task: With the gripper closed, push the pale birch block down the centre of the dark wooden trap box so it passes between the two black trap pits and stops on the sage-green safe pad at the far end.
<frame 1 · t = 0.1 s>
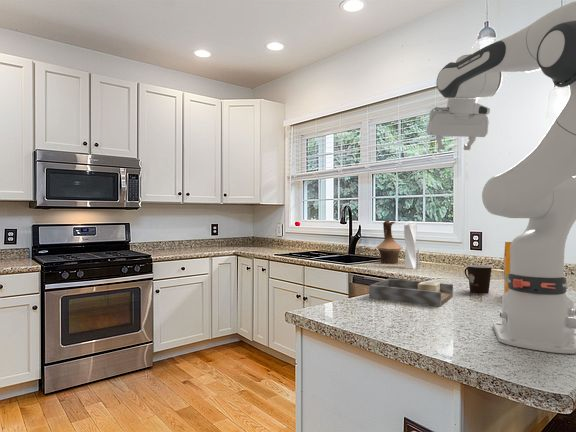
hand: (453, 149, 131), 52 cm above the countertop, tool tilted 20°, fingers open, 8 cm apart
coffee mug: (478, 291, 149), on the countertop
birch block: (428, 295, 134), point 1 cm above the countertop, touching trap box
skyscraper: (411, 269, 222), on the countertop
brown vase: (389, 263, 250), on the countertop
trap box: (411, 297, 137), on the countertop
orange juice: (519, 298, 136), on the countertop
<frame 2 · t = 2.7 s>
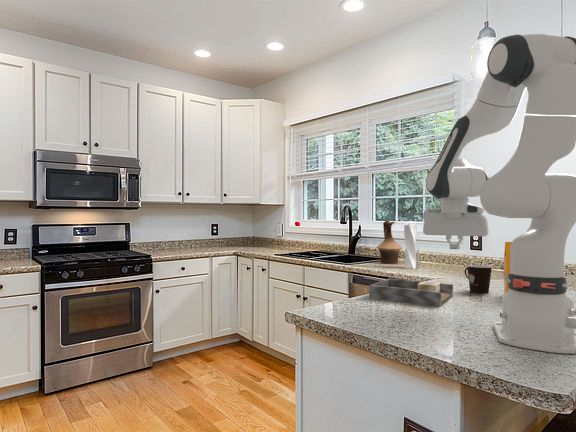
hand: (454, 249, 129), 18 cm above the countertop, tool pointing down, fingers closed
nothing on the countertop moved.
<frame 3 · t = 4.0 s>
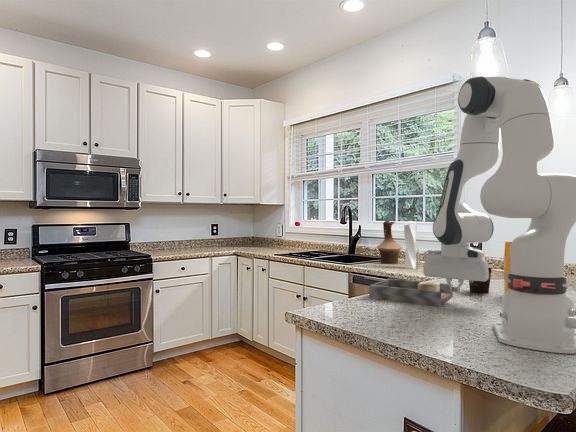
hand: (455, 292, 129), 3 cm above the countertop, tool pointing down, fingers closed
nothing on the countertop moved.
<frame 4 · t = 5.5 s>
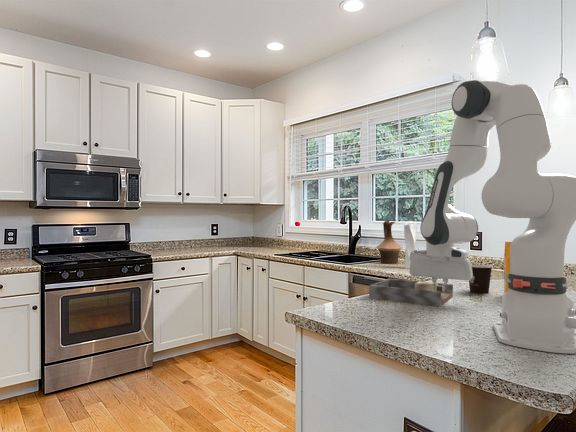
hand: (439, 291, 132), 3 cm above the countertop, tool pointing down, fingers closed
birch block: (425, 294, 134), point 1 cm above the countertop, touching gripper, trap box
everything else where it was.
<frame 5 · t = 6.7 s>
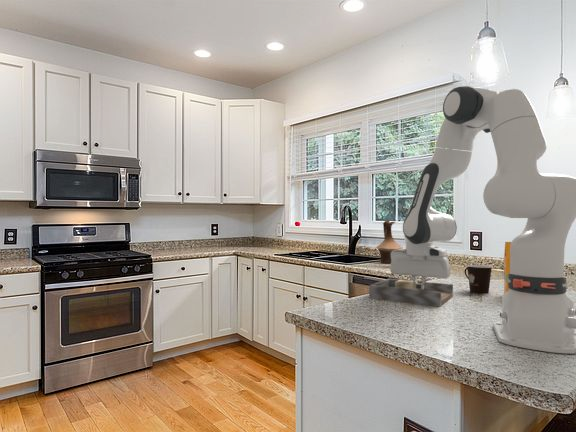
hand: (419, 288, 136), 3 cm above the countertop, tool pointing down, fingers closed
birch block: (405, 292, 138), point 2 cm above the countertop, touching gripper
everything else where it was.
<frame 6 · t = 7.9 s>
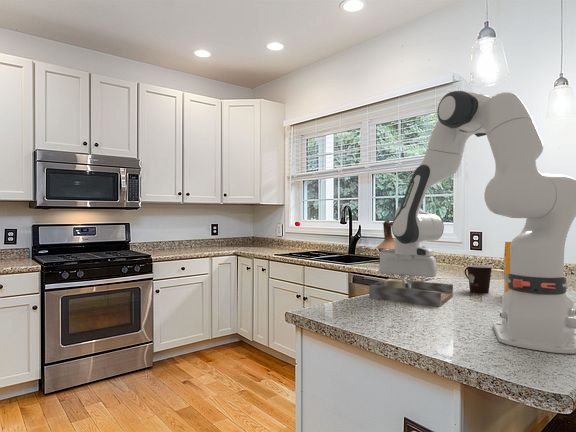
hand: (407, 287, 138), 3 cm above the countertop, tool pointing down, fingers closed
birch block: (395, 291, 140), point 1 cm above the countertop, touching gripper, trap box
everything else where it was.
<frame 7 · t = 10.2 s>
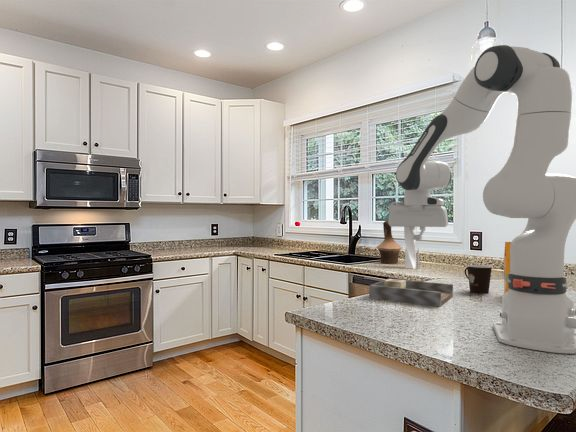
hand: (417, 239, 136), 21 cm above the countertop, tool pointing down, fingers closed
birch block: (395, 291, 140), point 1 cm above the countertop, touching trap box
everything else where it was.
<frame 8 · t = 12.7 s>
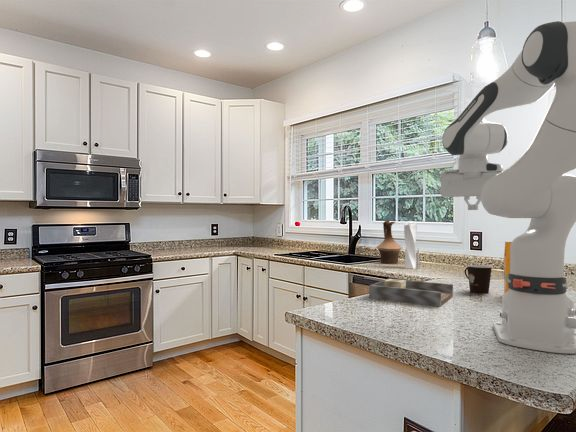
hand: (472, 209, 127), 31 cm above the countertop, tool pointing down, fingers closed
nothing on the countertop moved.
at the end: birch block 0.1 cm from the target spot on the trap box, point 1.5 cm above the trap box's base; birch block tilted 0° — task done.
